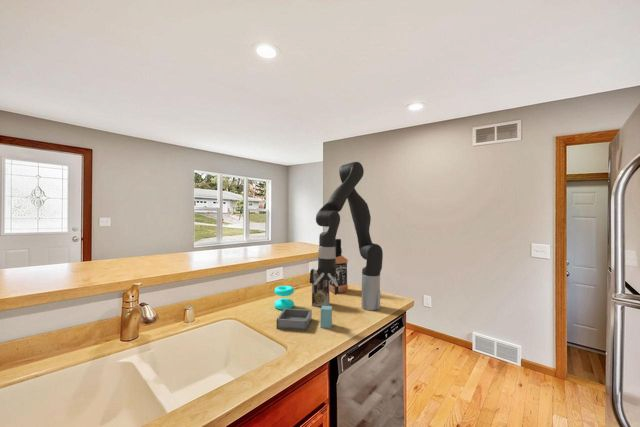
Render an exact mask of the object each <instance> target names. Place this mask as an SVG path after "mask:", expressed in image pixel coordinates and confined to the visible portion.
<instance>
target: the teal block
mask: <svg viewBox="0 0 640 427" xmlns="http://www.w3.org/2000/svg"><path fill="white" fill-rule="evenodd" d="M320 307H321V308H320V325H319V326H320V329H332V326H333V306H332V305H329V306H320Z"/></svg>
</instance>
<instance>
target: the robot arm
mask: <svg viewBox="0 0 640 427" xmlns="http://www.w3.org/2000/svg"><path fill="white" fill-rule="evenodd" d="M364 171H365V170H364V167H363V165H362V163H361V162H359V161H353V162H349V163H345V164H342V165H341V166H340V167H339V171H338V173H339V178H340V182H341V184H340V185H339V186H338V187H336V189H335V190H334V191H333V192H332V194H331V195H330V197H329V199H328V200H327V202H326V203H325V204H324V205H323V206H322V207H320V208H319V210H318V212H316V216H315V223H316V224H317V225H318V226H320V227H324V228H325V227H327V228H328V229H327V231H324V232H320V233H319V235H318V237H319V239H318V240H319V241H318V244H319V245H318V254H317V258H318V259H317V269H315V268H311V270H310V274H309V284H311V285H312V284H314V292H315V294H317V291H318V284H317V283H318V282H319V281H320V279H322V280H328V281H330V280H332V282H333V283H334V284H335V293H334V295H335V296H337V294H339V293H338V289H339V286H340V285H342V284H343V271H342V270H340V271H336V269H335V261H336V249H335V240H336V239H337V238H336V237H337V233H338V229H339V226H340V223H341V215H340V214H339V213H340V212H341V211H342V209H343V208H344V205H345V204H346V201H347V203H348V207H349V210H350V214H351V218H352V221H353V226H354V230H355V233H356V237H357V238H356V239H357V244H358V251H359V254H360V256H361V258H362V259H364V260H365V261H366V263H365V264H366V265H365V266H364V267H362V270H361V302H360V303H361V308H362V309H363V310H367V311H378V310H379V311H381V271H382V269H383V257H384V254H383V253H384V252H383V248H382V247H381V246H380V245H379V244H378V243H373V241H372V238H371V234H370V228H371V227H370V226H371V220H372V219H371V218H372V217H371V213H370V212H371V211H370V209H369V205H368V203H367V202H366V200H365V199H364V198H363V197H362V195H360V194H359V193H358V192H357V190H356V187H357V185H358V184H359V182H360V181H361V180H362V178H363V177H364ZM315 273H317V274H318V275H319V277H318V278H317V279H316V281H314V280H313V278H314V274H315ZM336 273H337V274H338V276H339V278H340V282H337V280H336V278H335V277H334V276H335V274H336Z"/></svg>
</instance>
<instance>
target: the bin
mask: <svg viewBox="0 0 640 427" xmlns="http://www.w3.org/2000/svg"><path fill="white" fill-rule="evenodd" d="M311 321H312V309H301V308H300V309H299V308H298V309H297V308H290V309H286V308H285V309H284V310H282V312H280V314H279V315H278V317H277V318H276V329H277V330H290V331H302V332H303V331H304V332H306V331H308V328H309V326H310V324H311Z"/></svg>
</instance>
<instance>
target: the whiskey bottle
mask: <svg viewBox="0 0 640 427" xmlns="http://www.w3.org/2000/svg"><path fill="white" fill-rule="evenodd" d="M335 249H336V261H335V269H336V271H340V270H342V271H343V284H342V285H340V286H339V289H338V294H341V293H348V292H349V284H348V262H349V259H348V258H346V257H345V256H343V255H342V253H343V251H342V250H343V249H342V239H341V238H336V240H335ZM334 277H335V278H336V280H337V282H340V278H339V276H338V274H337V273H336V274H335V276H334ZM329 293H332V294H335V284H334V283H333V282H332V280H330V281H329Z"/></svg>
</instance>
